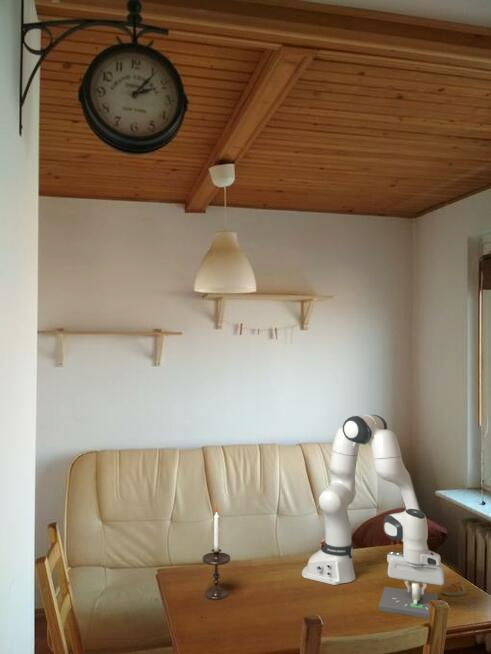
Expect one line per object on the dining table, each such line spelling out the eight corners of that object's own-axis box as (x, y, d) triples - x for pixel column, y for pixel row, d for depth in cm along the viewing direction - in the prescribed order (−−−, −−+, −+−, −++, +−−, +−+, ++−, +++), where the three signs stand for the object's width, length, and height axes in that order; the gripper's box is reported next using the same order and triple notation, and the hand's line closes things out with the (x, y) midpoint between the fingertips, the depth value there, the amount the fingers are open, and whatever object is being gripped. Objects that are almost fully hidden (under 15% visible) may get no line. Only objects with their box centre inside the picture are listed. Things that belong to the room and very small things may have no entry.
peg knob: (413, 593, 210) (413, 574, 211) (423, 595, 209) (423, 575, 209) (410, 604, 201) (409, 584, 201) (420, 606, 199) (419, 585, 200)
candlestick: (196, 595, 213) (197, 504, 215) (216, 586, 221) (216, 498, 223) (215, 603, 205) (216, 509, 207) (235, 594, 213) (236, 503, 215)
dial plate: (378, 610, 200) (378, 605, 200) (384, 590, 217) (384, 586, 217) (436, 619, 193) (436, 614, 193) (437, 598, 210) (437, 594, 210)
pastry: (449, 599, 210) (449, 588, 210) (436, 592, 216) (436, 582, 217) (467, 594, 214) (467, 584, 214) (454, 588, 220) (454, 578, 220)
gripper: (385, 553, 204) (386, 591, 203) (444, 561, 197) (444, 601, 196) (388, 548, 210) (388, 584, 209) (444, 555, 202) (444, 593, 202)
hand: (415, 592), depth 203 cm, fingers closed on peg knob, 3 cm apart
